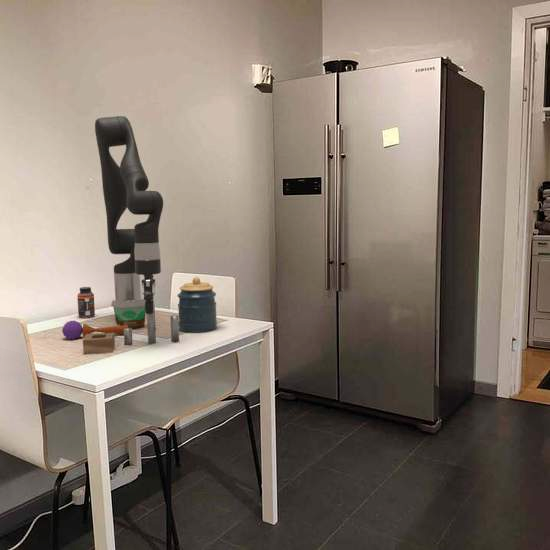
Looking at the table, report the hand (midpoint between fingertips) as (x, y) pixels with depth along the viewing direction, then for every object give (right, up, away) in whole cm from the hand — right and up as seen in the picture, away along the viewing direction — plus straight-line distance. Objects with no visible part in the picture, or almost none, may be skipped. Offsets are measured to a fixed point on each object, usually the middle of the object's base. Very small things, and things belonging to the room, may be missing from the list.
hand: (149, 311), depth 167 cm
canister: (+12, -8, +20) cm, 25 cm away
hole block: (-14, -11, -5) cm, 18 cm away
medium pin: (+7, -10, +3) cm, 12 cm away
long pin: (0, -10, +2) cm, 10 cm away
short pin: (-7, -10, 0) cm, 12 cm away
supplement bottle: (-34, -5, +42) cm, 54 cm away
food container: (-11, -8, +22) cm, 25 cm away
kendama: (-20, -9, +11) cm, 24 cm away
